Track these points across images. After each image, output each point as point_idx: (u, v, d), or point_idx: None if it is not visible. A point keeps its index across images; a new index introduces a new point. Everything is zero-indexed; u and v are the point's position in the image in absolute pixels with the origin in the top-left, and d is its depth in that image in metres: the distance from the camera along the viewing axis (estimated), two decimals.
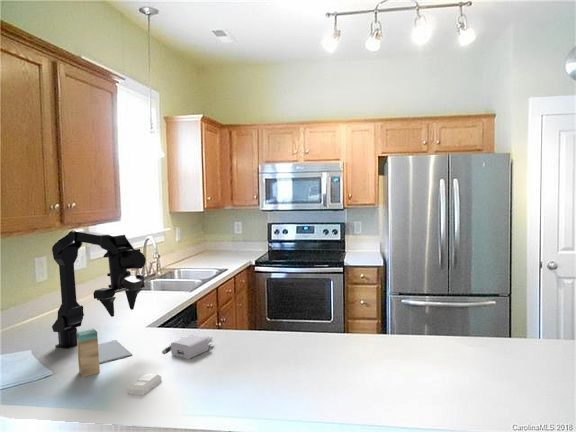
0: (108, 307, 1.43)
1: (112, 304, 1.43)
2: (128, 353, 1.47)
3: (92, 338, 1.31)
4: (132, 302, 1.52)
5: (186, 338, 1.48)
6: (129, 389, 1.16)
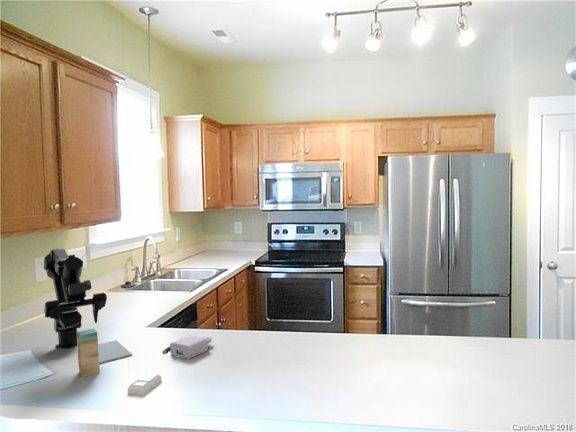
0: (59, 320, 1.37)
1: (61, 315, 1.37)
2: (128, 353, 1.47)
3: (92, 338, 1.31)
4: (94, 315, 1.42)
5: (185, 338, 1.48)
6: (129, 389, 1.17)
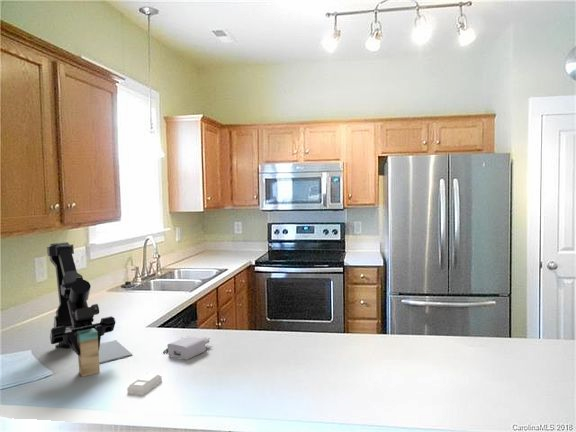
0: (73, 346, 1.31)
1: (74, 341, 1.31)
2: (128, 353, 1.47)
3: (92, 338, 1.31)
4: None
5: (183, 339, 1.47)
6: (129, 389, 1.17)
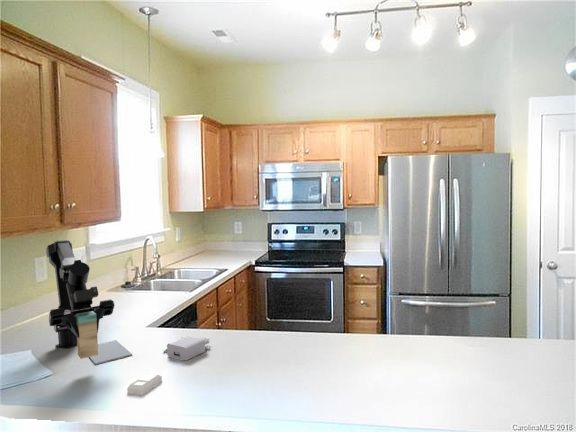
0: (72, 328, 1.31)
1: (73, 323, 1.31)
2: (128, 353, 1.47)
3: (91, 320, 1.31)
4: None
5: (182, 340, 1.46)
6: (129, 388, 1.17)
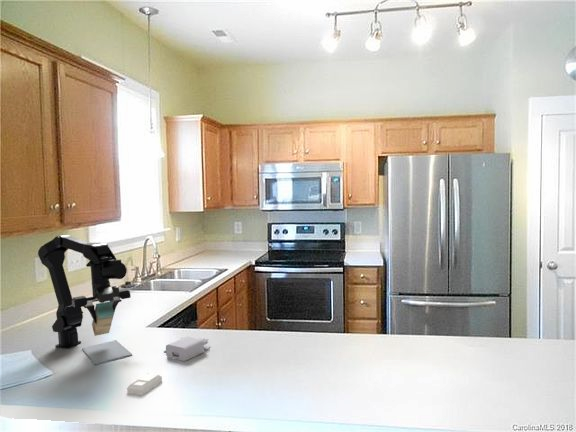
0: (91, 314, 1.49)
1: (93, 312, 1.48)
2: (128, 353, 1.47)
3: (109, 316, 1.49)
4: None
5: (181, 340, 1.46)
6: (128, 388, 1.17)
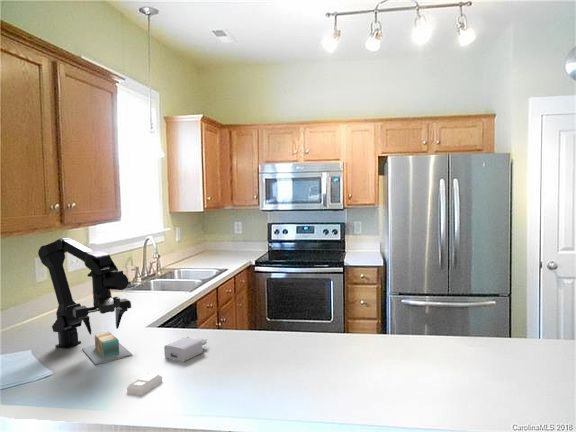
0: (86, 325, 1.49)
1: (88, 323, 1.48)
2: (128, 353, 1.47)
3: None
4: (117, 321, 1.54)
5: (180, 341, 1.45)
6: (128, 388, 1.17)
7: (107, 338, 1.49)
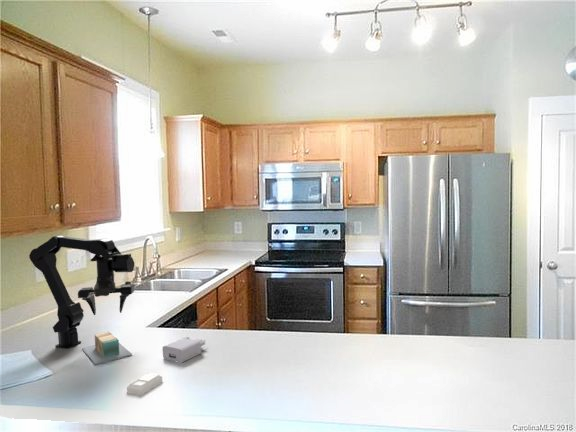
0: None
1: (91, 304, 1.55)
2: (128, 353, 1.47)
3: None
4: None
5: (178, 341, 1.45)
6: (128, 388, 1.17)
7: (107, 338, 1.49)
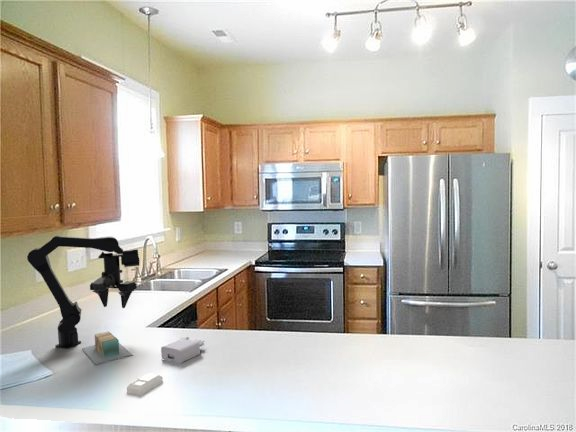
0: None
1: (100, 296, 1.67)
2: (128, 353, 1.47)
3: None
4: None
5: (177, 342, 1.44)
6: (128, 388, 1.17)
7: (107, 338, 1.49)
